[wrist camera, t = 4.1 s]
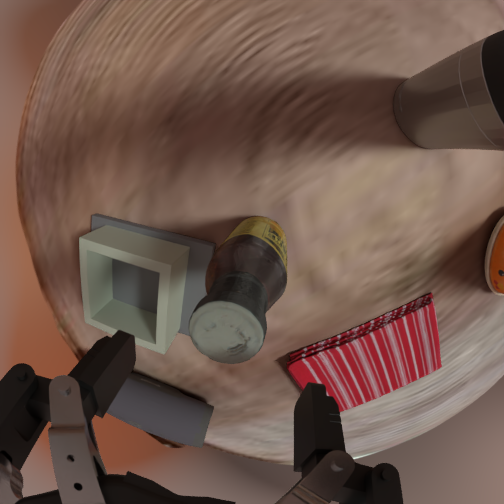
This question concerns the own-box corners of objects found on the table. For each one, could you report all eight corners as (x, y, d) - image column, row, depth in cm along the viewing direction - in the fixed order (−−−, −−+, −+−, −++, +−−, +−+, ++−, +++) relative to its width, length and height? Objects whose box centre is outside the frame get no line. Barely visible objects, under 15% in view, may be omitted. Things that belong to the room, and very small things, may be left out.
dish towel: (282, 352, 38) (282, 364, 35) (429, 287, 32) (438, 295, 30) (319, 412, 42) (320, 423, 39) (438, 362, 36) (444, 372, 34)
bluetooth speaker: (106, 377, 45) (83, 409, 36) (102, 346, 42) (73, 379, 32) (210, 417, 45) (198, 458, 35) (218, 391, 42) (205, 436, 32)
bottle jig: (215, 243, 33) (198, 265, 26) (200, 333, 38) (185, 365, 31) (96, 213, 33) (63, 226, 27) (97, 297, 38) (71, 319, 31)
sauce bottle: (288, 262, 33) (290, 386, 14) (237, 265, 34) (187, 384, 15) (283, 208, 31) (285, 284, 12) (230, 213, 31) (157, 290, 13)
